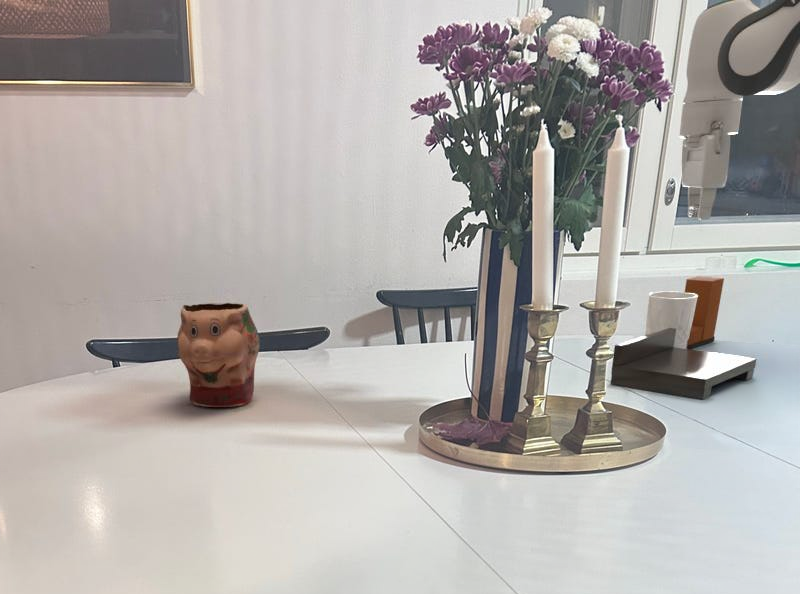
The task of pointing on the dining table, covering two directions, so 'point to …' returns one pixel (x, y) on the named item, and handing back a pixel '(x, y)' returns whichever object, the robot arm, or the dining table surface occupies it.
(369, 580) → the dining table surface
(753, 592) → the dining table surface
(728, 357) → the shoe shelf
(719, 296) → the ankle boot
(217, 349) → the decorative planter
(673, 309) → the white cup
